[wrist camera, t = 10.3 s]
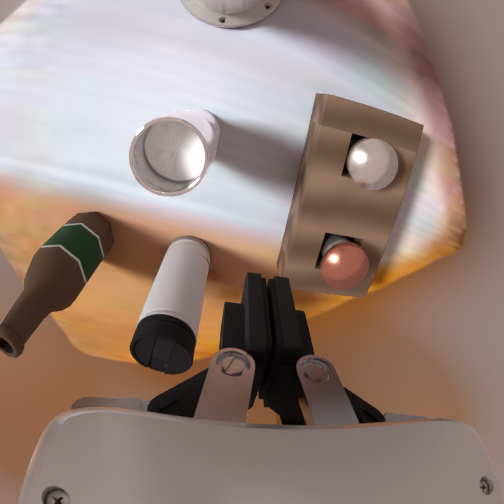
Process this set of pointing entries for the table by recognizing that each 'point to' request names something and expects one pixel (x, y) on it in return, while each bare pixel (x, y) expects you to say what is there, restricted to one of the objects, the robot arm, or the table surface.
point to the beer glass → (174, 151)
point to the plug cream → (371, 162)
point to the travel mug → (173, 309)
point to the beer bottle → (56, 277)
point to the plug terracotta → (342, 261)
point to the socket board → (343, 192)
